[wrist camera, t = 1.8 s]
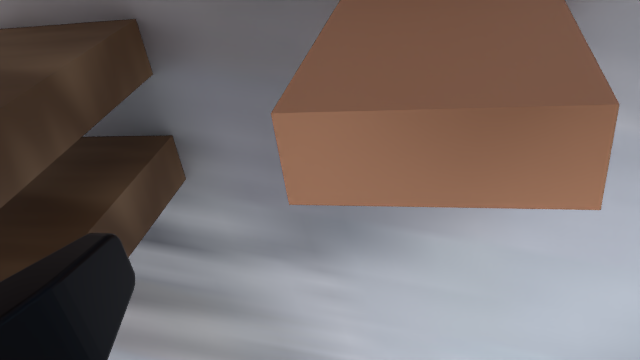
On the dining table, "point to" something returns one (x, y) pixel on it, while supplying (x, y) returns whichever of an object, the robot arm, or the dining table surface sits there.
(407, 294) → the dining table surface
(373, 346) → the dining table surface
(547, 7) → the domino
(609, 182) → the dining table surface
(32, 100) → the domino
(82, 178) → the domino
